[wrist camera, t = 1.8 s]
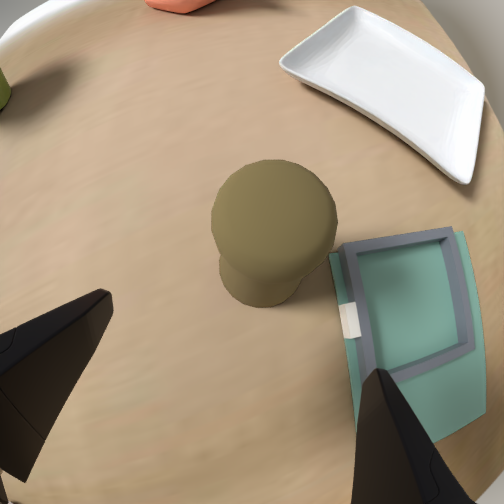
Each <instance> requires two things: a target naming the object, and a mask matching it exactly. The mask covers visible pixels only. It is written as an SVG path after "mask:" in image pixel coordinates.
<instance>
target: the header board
mask: <svg viewBox="0 0 504 504" xmlns="http://www.w3.org/2000/svg"><path fill="white" fill-rule="evenodd" d="M337 250H338V253H332V254H329V255H328V256H329V261H330V265H331V270H332V275H333V280H334V285H335V290H336V296H337V301H338V306H339V312H340V318H341V323H342V329H343V335H344V341H345V348H346V354H347V361H348V368H349V375H350V383H351V391H352V399H353V408H354V417H355V427H356V432H357V421H358V413H359V406H360V398H361V390H362V385H363V382H364V381H365V379H366V378H367V377H368V376H369V375H370V373H371V372H372V371H373V370H374V369H375V368H381V369H386V370H387V371H388V372H389V374H390V375H391V377H392V378H393V380H394V381H395V383H396V385H397V386H398V388H399V389H400V391H401V392H402V394H403V395H404V397H405V399H406V400H407V402H408V403H409V405H410V406H411V408H412V410H413V411H414V413H415V414H416V416H417V418H418V419H419V421H420V422H421V424H422V426H423V427H424V429H425V431H426V432H427V434H428V436H429V437H430V439H431V441H432V442H433V443H435V442H437V441H439V440H441V439H443V438H445V437H447V436H448V435H450V434H452V433H454V432H456V431H457V430H459V429H461V428H462V427H464V426H466V425H467V424H469V423H471V422H472V421H474V420H475V419H477V418H479V417H480V416H482V415H483V414H485V413H486V364H485V349H484V338H483V328H482V320H481V313H480V306H479V300H478V294H477V288H476V283H475V278H474V273H473V269H472V264H471V260H470V256H469V252H468V248H467V244H466V240H465V237H464V233H463V231H461V232H455V233H454V232H453V229H452V226H450V227H444V228H438V229H432V230H425V231H419V232H413V233H407V234H400V235H394V236H388V237H381V238H375V239H368V240H362V241H356V242H349V243H343V244H342V245H341V246H340V247H338V248H337Z"/></svg>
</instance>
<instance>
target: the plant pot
mask: <svg viewBox="0 0 504 504" xmlns="http://www.w3.org/2000/svg"><path fill="white" fill-rule="evenodd" d="M10 95H11V88H10V86H9V84H8V82H7V80H6V78H5V76H4V74H3V72H2V70H1V68H0V110H1V109H2V108H3V107H4V106H5V105H6V104H7V102H8V100H9V97H10Z"/></svg>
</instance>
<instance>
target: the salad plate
mask: <svg viewBox="0 0 504 504" xmlns="http://www.w3.org/2000/svg"><path fill="white" fill-rule="evenodd" d="M279 64H280V67H281V68H282V69H283V70H284V71H285V72H286V73H287V74H288V75H290V76H291V77H293V78H295V79H297V80H299V81H301V82H303V83H305V84H307V85H309V86H311V87H313V88H315V89H317V90H319V91H322V92H324V93H326V94H328V95H330V96H332V97H334V98H335V99H337V100H339V101H341V102H343V103H345V104H347V105H348V106H350V107H352V108H354V109H355V110H357V111H359V112H360V113H362V114H364V115H365V116H367V117H369V118H370V119H372V120H373V121H375V122H376V123H378V124H380V125H381V126H383V127H384V128H386V129H387V130H389V131H390V132H392V133H393V134H395V135H396V136H397V137H399V138H400V139H402V140H403V141H404V142H406V143H407V144H408V145H410V146H411V147H412V148H414V149H415V150H416V151H417V152H419V153H420V154H421V155H422V156H424V157H425V158H426V159H427V160H429V161H430V162H431V163H432V164H433V165H435V166H436V167H437V168H438V169H439V170H440V171H442V172H443V173H444V174H445V175H447V176H448V177H449V178H451V179H452V180H454V181H456V182H458V183H460V184H464V185H467V184H469V183H470V181H471V179H472V175H473V171H474V166H475V161H476V155H477V148H478V141H479V134H480V126H481V118H482V111H483V103H484V95H485V88H484V85H483V84H482V83H481V82H480V81H479V80H478V79H477V78H475V77H474V76H473V75H471V74H470V73H469V72H468V71H467V70H465V69H464V68H463V67H461V66H460V65H459V64H457V63H456V62H455V61H453V60H452V59H451V58H449V57H448V56H446V55H445V54H444V53H442V52H441V51H439V50H438V49H436V48H435V47H433V46H432V45H430V44H429V43H427V42H425V41H424V40H422V39H420V38H419V37H417V36H415V35H414V34H412V33H410V32H408V31H407V30H405V29H403V28H401V27H399V26H398V25H396V24H394V23H392V22H390V21H388V20H386V19H384V18H382V17H380V16H378V15H376V14H374V13H372V12H369V11H367V10H365V9H363V8H360V7H358V6H351V7H349V8H347V9H346V10H344V11H343V12H341V13H340V14H338V15H337V16H336V17H334V18H333V19H332V20H330V21H329V22H328V23H326V24H325V25H324V26H322V27H321V28H320V29H318V30H317V31H316V32H314V33H313V34H312V35H310V36H309V37H307V38H306V39H305V40H303V41H302V42H301V43H299V44H298V45H297V46H295V47H294V48H293V49H291V50H290V51H289V52H288V53H286V54H285V55H284V56H283V57H282V58H281V59H280V61H279Z"/></svg>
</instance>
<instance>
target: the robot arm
mask: <svg viewBox="0 0 504 504" xmlns="http://www.w3.org/2000/svg"><path fill="white" fill-rule="evenodd" d="M112 315H113V302H112V294H111V293H110V292H109V291H107V290H104V289H97V290H95V291H93V292H90V293H88V294H86V295H84V296H82V297H79V298H77V299H75V300H73V301H71V302H68V303H66V304H64V305H62V306H60V307H58V308H55V309H53V310H51V311H49V312H47V313H45V314H43V315H40V316H38V317H36V318H34V319H32V320H30V321H28V322H26V323H23V324H21V325H19V326H17V328H16V327H15V328H13V329H11V330H9V331H7V332H4V333H2V334H0V504H8V503H9V502H8V499H7V495H6V492H5V489H4V486H3V482H2V479H1V474H2V472H3V470H4V471H5V472H7V473H8V474H10V475H12V476H13V477H15V478H17V479H19V480H20V481H22V482H24V483H26V481H27V479H28V477H29V474H30V472H31V470H32V468H33V466H34V464H35V461H36V459H37V457H38V455H39V453H40V451H41V449H42V447H43V445H44V443H45V440H46V438H47V436H48V434H49V432H50V430H51V429H52V427H53V425H54V423H55V421H56V419H57V417H58V415H59V413H60V411H61V410H62V408H63V406H64V404H65V402H66V400H67V399H68V397H69V395H70V393H71V392H72V390H73V388H74V386H75V385H76V383H77V381H78V379H79V378H80V376H81V374H82V372H83V371H84V369H85V367H86V366H87V364H88V362H89V361H90V359H91V357H92V356H93V354H94V352H95V350H96V348H97V346H98V344H99V342H100V340H101V338H102V336H103V334H104V332H105V330H106V327H107V325H108V323H109V321H110V319H111V317H112ZM351 504H477V503H475V502H474V501H472V500H471V499H470V498H469V496H468V495H467V494H466V492H465V491H464V489H463V488H462V487H461V485H460V484H459V482H458V481H457V480H456V478H455V477H454V475H453V474H452V472H451V471H450V470H449V468H448V467H447V465H446V464H445V462H444V460H443V459H442V457H441V455H440V454H439V452H438V450H437V449H436V448H435V446H434V444H433V442H432V441H431V439H430V437H429V436H428V434H427V432H426V431H425V429H424V427H423V426H422V424H421V422H420V421H419V419H418V418H417V416H416V414H415V413H414V411H413V410H412V408H411V406H410V405H409V403H408V402H407V400H406V399H405V397H404V395H403V394H402V392H401V391H400V389H399V388H398V386H397V385H396V383H395V381H394V380H393V378H392V377H391V375H390V374H389V372H388V371H387V370H386V369H381V368H375V369H374V370H373V371H372V372H371V373H370V375H369V376H368V377H367V378H366V379H365V381H364V382H363V385H362V390H361V398H360V406H359V413H358V421H357V432H356V452H355V467H354V479H353V489H352V499H351Z"/></svg>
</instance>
